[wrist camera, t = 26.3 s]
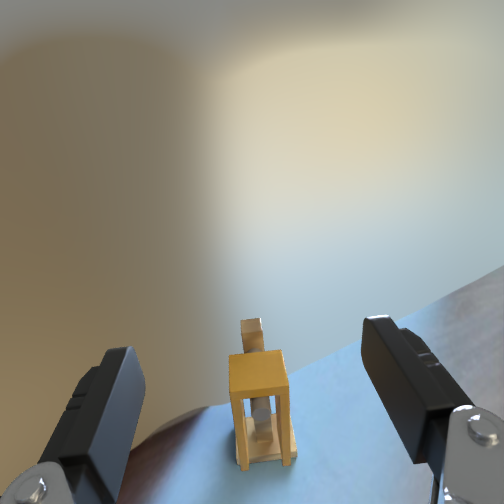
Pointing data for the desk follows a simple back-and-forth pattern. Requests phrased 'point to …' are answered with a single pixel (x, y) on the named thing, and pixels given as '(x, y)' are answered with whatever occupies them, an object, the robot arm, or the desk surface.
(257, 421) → the rack
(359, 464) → the desk surface
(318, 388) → the desk surface
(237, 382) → the yellow goalpost frame
